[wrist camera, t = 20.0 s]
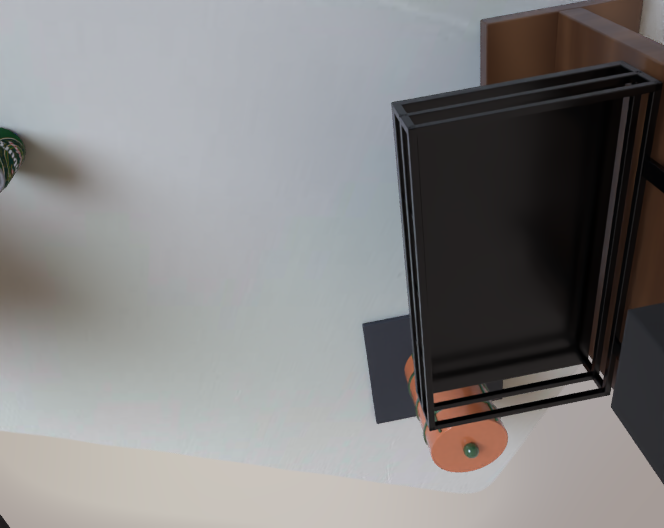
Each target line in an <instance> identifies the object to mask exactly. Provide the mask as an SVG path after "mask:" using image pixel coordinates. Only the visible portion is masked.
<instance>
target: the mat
mask: <svg viewBox="0 0 664 528" xmlns="http://www.w3.org/2000/svg"><path fill="white" fill-rule="evenodd" d="M363 331H364V338H365V345H366V352H367V359H368V366H369V373H370V380H371V388H372V395H373V402H374V409H375V416H376V422H377V424H379V423H384V422H389V421H394V420H399V419H404V418H409V417H414V416H416V412H415V405H414V402H413V399H412V398H411V396H410V394H409V391H408V384H407V381H406V378H405V374H404V369H405V365H406V362H407V360H408V359H409V357H410V356H411V354H412V353H413V352H412V340H411V329H410V317H409V315H406V316H401V317H396V318H391V319H385V320H380V321H375V322H370V323H365V324H363ZM485 384H486V386H487V388H488V390H489V392H491V391H496V390H501V389H502V387H503V380H499V381H494V382H489V383H485ZM499 399H502V398H498V399H493V400H492V401H494V400H499Z"/></svg>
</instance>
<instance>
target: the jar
mask: <svg viewBox="0 0 664 528" xmlns="http://www.w3.org/2000/svg"><path fill="white" fill-rule="evenodd" d="M404 374H405V378H406V381H407V384H408V391H409V394H410V396H411V398H412V399H413V402H414V405H415V412H416V416H417V418H418V420H419V421H420V423H421V426H422V429H423V437H424V440H425V442H426V444H427V445H428V447H429V450H430V453H431V457H432V459H433V461H434V463H435V464H436V465H437V466H439V467H440V468H441V469H444V470H446V471H450V472H468V471H473V470H477V469H480V468H482V467H484V466H486V465H488V464H490V463H491V462H493V461H494V460H496V459H497V458H498V457H499V456H500V455H501V454H502V452H503V451H504V449H505V448H506V445H507V442H508V435H507V431H506V429H505V427H504V425H503V423H502V421H501V417H498V418H493V419H488V420H483V421H479V422H474V423H469V424H464V425H459V426H454V427H449V428H444V429H439V430H434V431H429V428H428V425H427V422H426V419H425V416H424V413H423V410H422V408H421V405H420V402H419V399H418V396H417V393H416V388H415V376H414V364H413V353H412V354H411V356H410V357H409V359H408V360H407V362H406V365H405V369H404ZM486 392H489V390H488V388H487V386H486V384H485V383H484V384H479V385H474V386H469V387H464V388H459V389H454V390H449V391H444V392H439V393H434V394H433V396H434V403H437V402H442V401H447V400H452V399H457V398H461V397H466V396H471V395H476V394H481V393H486ZM495 409H497V408H496V406H495V405H494V404H493V402H492V400H489V401H484V402H479V403H474V404H469V405H464V406H459V407H454V408H449V409H444V410H439V411H434V413H435V421H440V420H445V419H450V418H455V417H460V416H465V415H470V414H475V413H480V412H485V411H490V410H495Z"/></svg>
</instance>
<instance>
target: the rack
mask: <svg viewBox="0 0 664 528" xmlns="http://www.w3.org/2000/svg"><path fill="white" fill-rule="evenodd" d="M642 6H643V0H588V1H583V2H577V3H572V4H566V5H560V6H555V7H549V8H544V9H538V10H533V11H527V12H521V13H516V14H510V15H505V16H499V17H493V18H488V19H482V20H481V86H485V85H490V84H496V83H501V82H507V81H512V80H517V79H523V78H528V77H534V76H539V75H545V74H550V73H556V72H561V71H567V70H572V69H578V68H583V67H589V66H594V65H599V64H605V63H610V62H616V61H621V60H622V61H624V62H626V63H628V64H630V65H632V66H633V67H635V68H637V69H639V70H641V71H643V72H645V73H646V74H648V75H650V76H652V77H654V78H656V79H657V80H659V81H661V82H663V86H662V92H661V98H660V104H659V110H658V116H657V121H656V127H655V133H654V139H653V145H652V151H651V158H653V159H654V160H655V161H657V162H658V163H659V164H661V165H662V166H663V167H664V45H662V44H660V43H658V42H656V41H653V40H651V39H649V38H647V37H645V36H643V35H640V34H639V27H640V20H641V13H642ZM629 85H631V83H627V84H625V86H629ZM648 95H649V93H646V94H642V95H641V102H640V108H639V115H638V121H637V128H636V135H635V141H634V148H633V154H632V161H631V167H630V174H629V181H628V187H627V194H626V200H625V207H624V214H623V220H622V227H621V233H620V240H619V246H618V253H617V260H616V266H615V273H614V279H613V286H612V292H611V299H610V306H609V312H608V319H607V325H606V332H605V339H604V345H603V352H602V358H601V365H600V371H601V372H602V374H603V375H604V373H605V366H606V360H607V354H608V347H609V341H610V335H611V328H612V322H613V316H614V309H615V303H616V297H617V291H618V284H619V278H620V272H621V265H622V259H623V253H624V246H625V240H626V234H627V228H628V221H629V215H630V209H631V202H632V196H633V190H634V183H635V177H636V171H637V164H638V158H639V152H640V146H641V139H642V133H643V127H644V120H645V114H646V108H647V101H648ZM628 105H629V97H624V98H623V105H622V112H621V120H620V127H619V134H618V142H617V149H616V157H615V164H614V171H613V179H612V186H611V193H610V201H609V208H608V216H607V223H606V230H605V238H604V245H603V253H602V260H601V267H600V275H599V282H598V290H597V297H596V304H595V312H594V319H593V327H592V334H591V341H590V349H589V356H590V357H591V358H592V360H593V353H594V346H595V339H596V332H597V324H598V317H599V310H600V303H601V296H602V289H603V282H604V275H605V268H606V261H607V254H608V246H609V239H610V232H611V225H612V218H613V211H614V204H615V197H616V190H617V183H618V176H619V168H620V161H621V154H622V147H623V140H624V133H625V126H626V119H627V112H628ZM659 303H664V193H663V192H661V191H660V190H659V189H658V188H656V187H655V186H654V185H653V184H651V183H650V182H649V181H648V180H646V186H645V192H644V198H643V204H642V210H641V215H640V221H639V227H638V233H637V239H636V245H635V251H634V256H633V262H632V268H631V274H630V280H629V286H628V292H627V298H626V303H625V309H624V315H623V321H622V327H621V333H620V339H619V341H620V342H621V343H622V340H623V335H624V329H625V323H626V317H627V312H628V310H629V309H634V308H639V307H644V306H649V305H654V304H659ZM618 363H619V361H618V360H617V358H616V362H615V368H614V374H613V380H612V386H611V387H612V388H613V389H614V386H615V380H616V375H617V369H618Z"/></svg>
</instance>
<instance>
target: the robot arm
mask: <svg viewBox="0 0 664 528" xmlns="http://www.w3.org/2000/svg"><path fill="white" fill-rule="evenodd" d="M611 408H612V409H613V411H614V412H615V414H616V415H617V416H618V418H619V419H620V421H621V422H622V424H623V425H624V427H625V428H626V430H627V431H628V433H629V434H630V436H631V437H632V439H633V440H634V442H635V443H636V445H637V446H638V447H639V449H640V450H641V452H642V453H643V455H644V456H645V458H646V459H647V461H648V462H649V464H650V465H651V467H652V468H653V470H654V471H655V472H656V474H657V475H658V477H659V478H660V480H661V481H662V483H663V484H664V303H659V304H654V305H649V306H644V307H639V308H634V309H629V310H628V312H627V317H626V323H625V329H624V335H623V340H622V346H621V352H620V357H619V363H618V369H617V375H616V380H615V386H614V392H613V398H612V403H611ZM0 528H10V527H9V526H8V524H7V523H6V522H5V520H4V519H3V518H2V516H1V515H0Z"/></svg>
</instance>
